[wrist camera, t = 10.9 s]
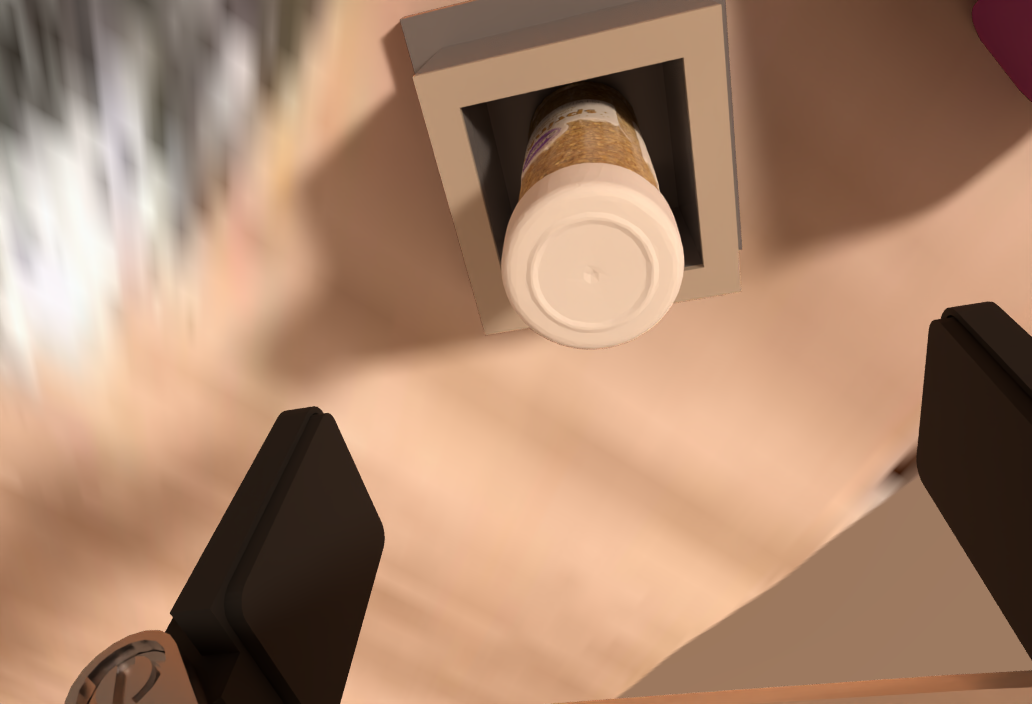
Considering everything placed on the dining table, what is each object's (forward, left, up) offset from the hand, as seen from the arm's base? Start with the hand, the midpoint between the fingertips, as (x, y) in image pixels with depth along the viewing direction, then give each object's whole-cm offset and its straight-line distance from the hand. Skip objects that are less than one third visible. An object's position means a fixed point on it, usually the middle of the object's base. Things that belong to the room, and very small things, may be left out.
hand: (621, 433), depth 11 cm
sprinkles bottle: (0, 0, -20) cm, 20 cm away
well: (+1, 0, -21) cm, 21 cm away
